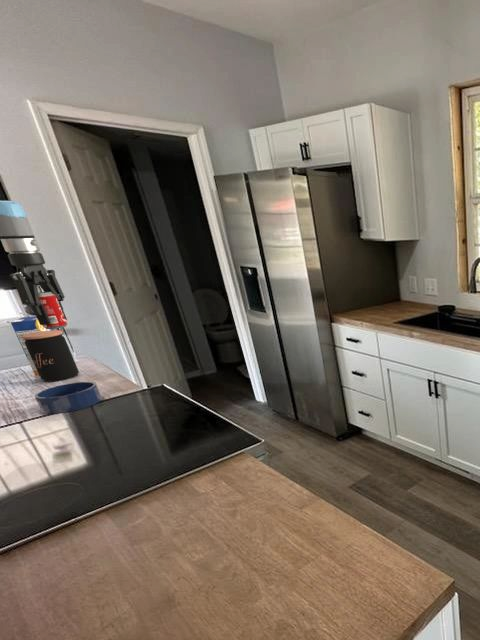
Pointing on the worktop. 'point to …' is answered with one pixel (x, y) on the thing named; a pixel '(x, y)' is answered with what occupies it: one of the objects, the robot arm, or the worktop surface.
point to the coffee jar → (51, 355)
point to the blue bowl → (68, 397)
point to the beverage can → (52, 310)
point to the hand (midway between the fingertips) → (53, 322)
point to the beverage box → (26, 327)
